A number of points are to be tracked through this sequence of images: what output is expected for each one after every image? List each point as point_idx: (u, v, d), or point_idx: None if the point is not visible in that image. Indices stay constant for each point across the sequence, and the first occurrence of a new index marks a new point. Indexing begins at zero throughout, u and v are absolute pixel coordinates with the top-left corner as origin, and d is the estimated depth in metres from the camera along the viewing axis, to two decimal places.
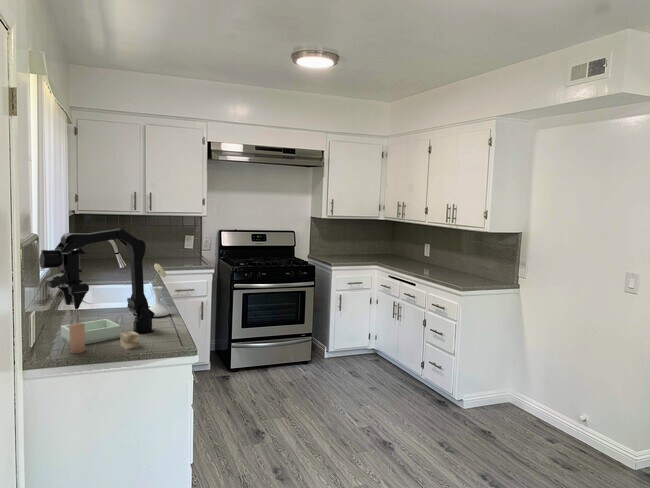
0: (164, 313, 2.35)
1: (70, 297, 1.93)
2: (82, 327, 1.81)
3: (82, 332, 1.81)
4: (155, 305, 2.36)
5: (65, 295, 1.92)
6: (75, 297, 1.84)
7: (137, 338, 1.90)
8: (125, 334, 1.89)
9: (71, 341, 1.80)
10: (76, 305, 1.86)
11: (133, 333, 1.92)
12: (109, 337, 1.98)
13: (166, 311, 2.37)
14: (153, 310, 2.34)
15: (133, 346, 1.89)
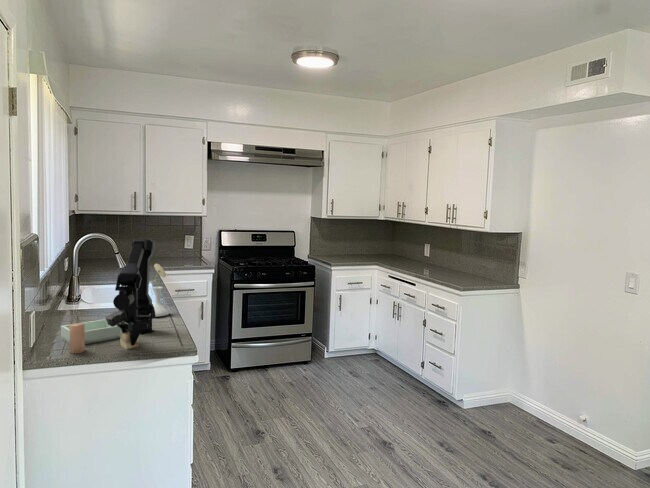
0: (164, 313, 2.35)
1: None
2: (82, 327, 1.81)
3: (82, 332, 1.81)
4: (155, 305, 2.36)
5: (124, 332, 1.92)
6: (132, 334, 1.87)
7: None
8: (125, 334, 1.89)
9: (71, 341, 1.80)
10: (132, 341, 1.88)
11: None
12: (109, 337, 1.98)
13: (166, 311, 2.37)
14: None
15: (133, 346, 1.89)
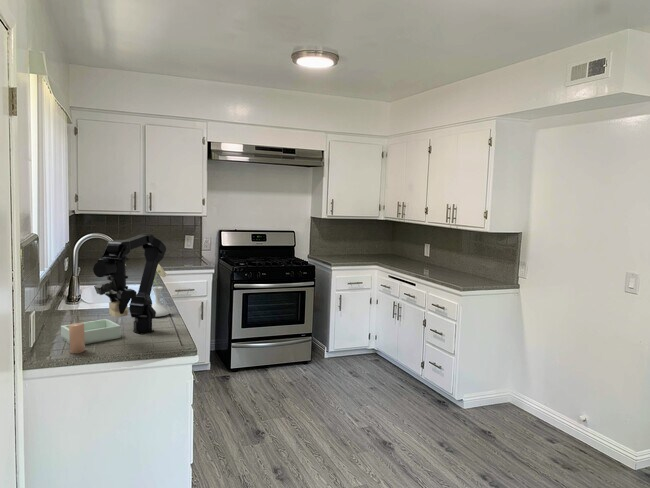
0: (164, 313, 2.35)
1: None
2: (82, 327, 1.81)
3: (82, 332, 1.81)
4: (155, 305, 2.36)
5: None
6: (121, 302, 1.91)
7: (126, 307, 1.94)
8: (114, 303, 1.93)
9: (71, 341, 1.80)
10: (121, 310, 1.92)
11: None
12: (109, 337, 1.98)
13: (166, 311, 2.37)
14: None
15: (122, 314, 1.93)
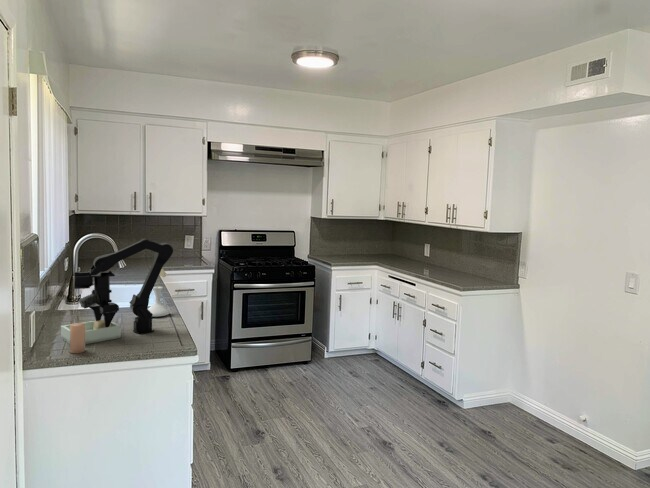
0: (164, 313, 2.35)
1: (99, 316, 2.06)
2: (83, 327, 1.81)
3: (83, 332, 1.82)
4: (155, 305, 2.36)
5: (95, 314, 2.05)
6: (106, 316, 1.97)
7: (109, 325, 2.02)
8: (98, 322, 2.01)
9: (72, 341, 1.80)
10: (107, 324, 1.99)
11: None
12: (109, 337, 1.98)
13: (166, 311, 2.37)
14: (153, 310, 2.34)
15: None
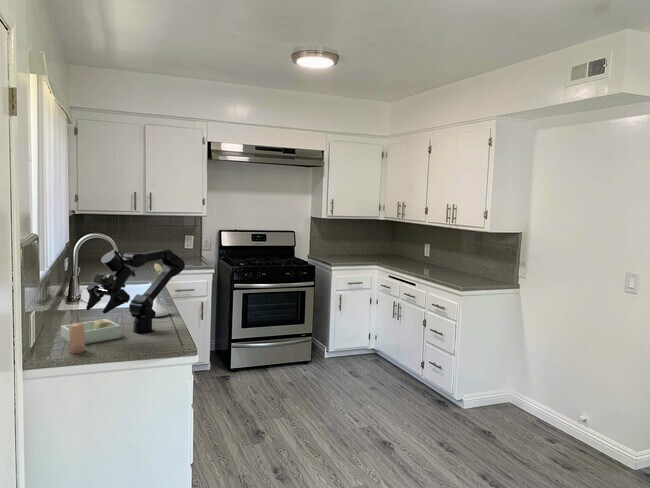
0: (164, 313, 2.35)
1: (92, 305, 1.93)
2: (82, 327, 1.81)
3: (82, 332, 1.81)
4: (155, 305, 2.36)
5: (91, 300, 1.92)
6: (112, 301, 1.88)
7: (109, 325, 2.02)
8: (98, 322, 2.01)
9: (71, 341, 1.80)
10: (106, 309, 1.87)
11: (106, 320, 2.04)
12: (109, 337, 1.98)
13: (166, 311, 2.37)
14: None
15: None
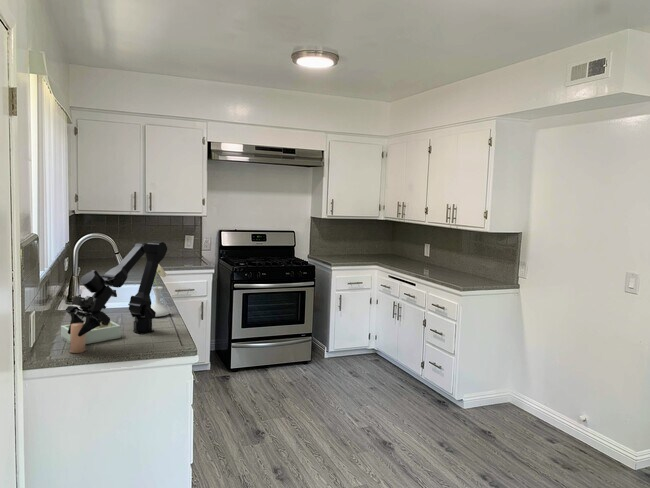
0: (164, 313, 2.35)
1: None
2: None
3: None
4: (155, 305, 2.36)
5: None
6: (88, 324, 1.81)
7: (109, 325, 2.02)
8: None
9: (73, 340, 1.80)
10: (82, 332, 1.80)
11: None
12: (109, 337, 1.98)
13: (166, 311, 2.37)
14: None
15: None
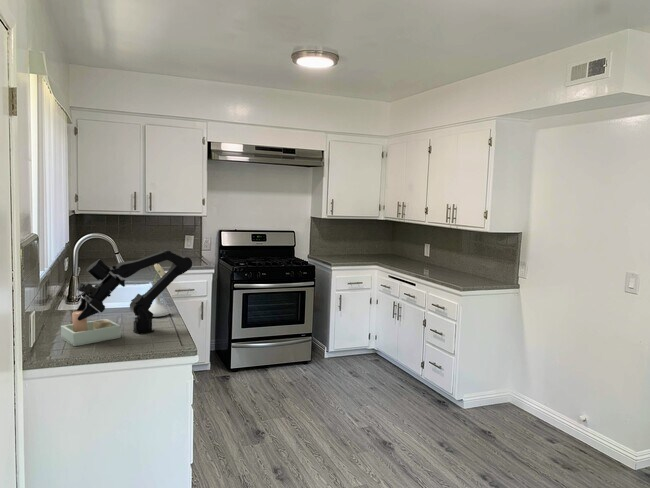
0: (164, 313, 2.35)
1: None
2: None
3: (83, 319, 1.95)
4: (155, 305, 2.36)
5: (80, 307, 1.99)
6: (86, 309, 1.92)
7: (109, 325, 2.02)
8: (98, 322, 2.01)
9: (73, 327, 1.94)
10: (81, 316, 1.92)
11: (106, 320, 2.04)
12: (109, 337, 1.98)
13: (166, 311, 2.37)
14: (153, 310, 2.34)
15: None
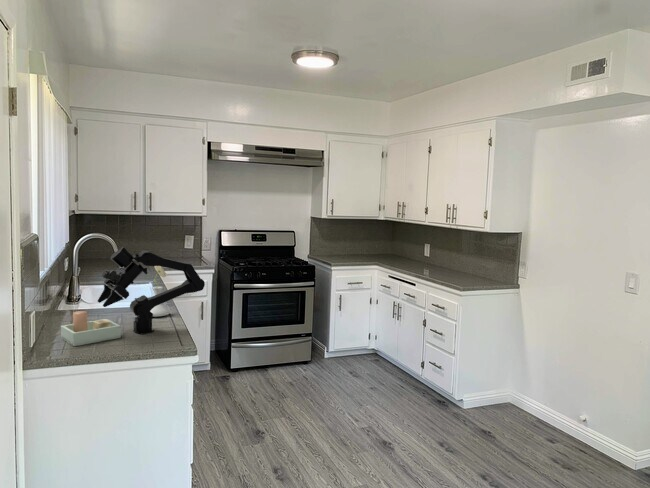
0: (164, 313, 2.35)
1: (104, 298, 2.05)
2: (83, 315, 1.95)
3: (83, 319, 1.95)
4: None
5: (103, 293, 2.05)
6: (111, 296, 1.96)
7: (109, 325, 2.02)
8: (98, 322, 2.01)
9: (74, 327, 1.94)
10: (106, 303, 1.96)
11: (106, 320, 2.04)
12: (109, 337, 1.98)
13: (166, 311, 2.37)
14: (153, 310, 2.34)
15: None
